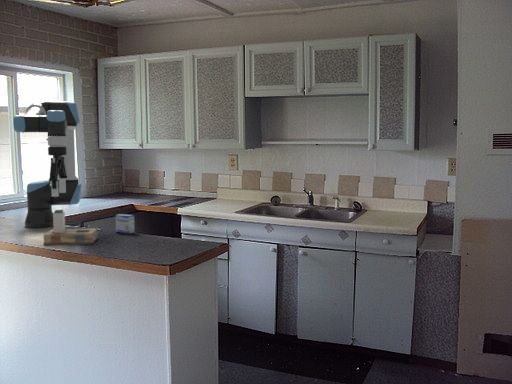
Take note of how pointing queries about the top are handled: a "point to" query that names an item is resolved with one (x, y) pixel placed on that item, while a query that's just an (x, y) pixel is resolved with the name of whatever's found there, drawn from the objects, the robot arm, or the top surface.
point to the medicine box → (125, 223)
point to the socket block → (71, 237)
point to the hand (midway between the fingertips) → (59, 194)
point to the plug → (59, 221)
